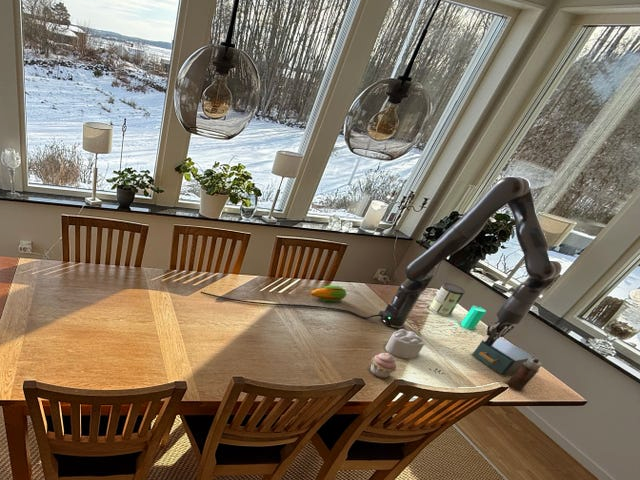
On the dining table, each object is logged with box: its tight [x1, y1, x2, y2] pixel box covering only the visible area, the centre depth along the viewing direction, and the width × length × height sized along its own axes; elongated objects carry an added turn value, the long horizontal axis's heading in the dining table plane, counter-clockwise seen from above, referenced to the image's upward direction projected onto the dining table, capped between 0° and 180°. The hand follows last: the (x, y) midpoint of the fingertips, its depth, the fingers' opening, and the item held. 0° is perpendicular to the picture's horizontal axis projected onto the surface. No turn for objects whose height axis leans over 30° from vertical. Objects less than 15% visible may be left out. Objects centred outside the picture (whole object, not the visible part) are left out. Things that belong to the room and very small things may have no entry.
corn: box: [310, 285, 347, 303], centre depth 203 cm, size 7×8×20 cm
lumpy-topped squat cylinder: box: [385, 328, 426, 359], centre depth 171 cm, size 10×13×9 cm
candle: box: [460, 305, 487, 331], centre depth 197 cm, size 6×6×12 cm
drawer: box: [471, 342, 513, 375], centre depth 171 cm, size 16×13×7 cm
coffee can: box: [428, 282, 466, 317], centre depth 207 cm, size 10×10×14 cm
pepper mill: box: [506, 358, 543, 392], centre depth 158 cm, size 5×5×14 cm
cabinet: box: [471, 337, 535, 377], centre depth 172 cm, size 12×14×8 cm
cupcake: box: [370, 352, 397, 379], centre depth 155 cm, size 9×9×10 cm
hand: (487, 344), depth 160 cm, fingers closed
